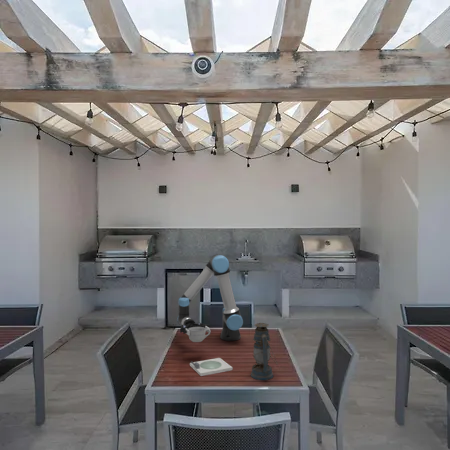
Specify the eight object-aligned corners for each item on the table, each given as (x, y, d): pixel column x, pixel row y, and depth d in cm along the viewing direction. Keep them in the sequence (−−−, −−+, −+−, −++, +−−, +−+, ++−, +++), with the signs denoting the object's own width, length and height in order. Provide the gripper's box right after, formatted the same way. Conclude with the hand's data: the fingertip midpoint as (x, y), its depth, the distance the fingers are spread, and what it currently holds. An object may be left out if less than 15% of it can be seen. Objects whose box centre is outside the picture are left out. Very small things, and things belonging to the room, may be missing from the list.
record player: (219, 360, 241) (219, 353, 241) (232, 370, 225) (232, 363, 225) (189, 365, 233) (189, 358, 233) (200, 376, 216) (200, 369, 216)
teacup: (186, 343, 237) (186, 330, 237) (190, 337, 248) (190, 325, 248) (208, 344, 235) (208, 331, 235) (211, 338, 246) (211, 326, 246)
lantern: (247, 369, 225) (246, 319, 225) (270, 368, 227) (270, 317, 227) (255, 383, 206) (254, 327, 206) (280, 381, 208) (280, 326, 208)
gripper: (205, 327, 265) (217, 335, 246) (170, 331, 255) (180, 340, 236) (205, 316, 265) (217, 323, 246) (170, 320, 255) (180, 328, 236)
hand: (199, 331), depth 241 cm, fingers closed on teacup, 13 cm apart
